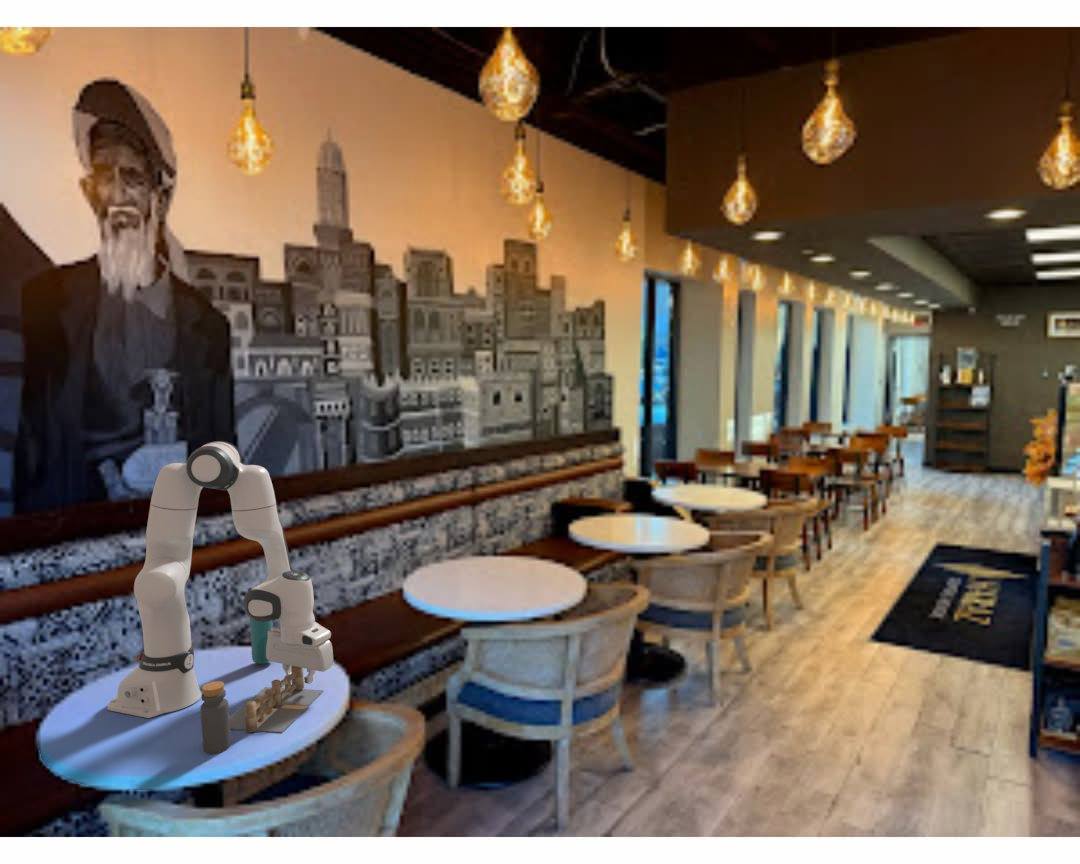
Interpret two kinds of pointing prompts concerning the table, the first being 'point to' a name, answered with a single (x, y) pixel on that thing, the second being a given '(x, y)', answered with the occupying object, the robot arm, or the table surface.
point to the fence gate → (296, 681)
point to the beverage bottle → (259, 640)
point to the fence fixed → (258, 705)
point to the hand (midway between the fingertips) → (300, 680)
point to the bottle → (215, 718)
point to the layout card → (277, 711)
